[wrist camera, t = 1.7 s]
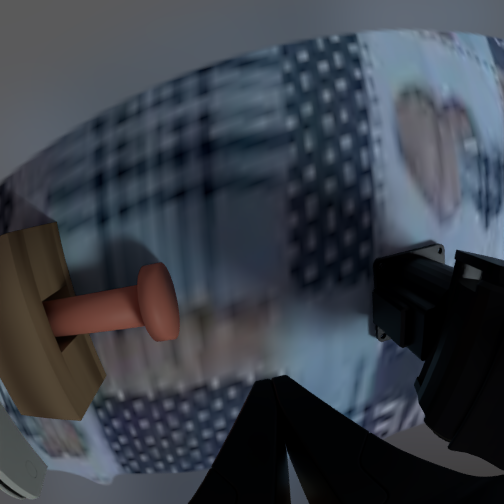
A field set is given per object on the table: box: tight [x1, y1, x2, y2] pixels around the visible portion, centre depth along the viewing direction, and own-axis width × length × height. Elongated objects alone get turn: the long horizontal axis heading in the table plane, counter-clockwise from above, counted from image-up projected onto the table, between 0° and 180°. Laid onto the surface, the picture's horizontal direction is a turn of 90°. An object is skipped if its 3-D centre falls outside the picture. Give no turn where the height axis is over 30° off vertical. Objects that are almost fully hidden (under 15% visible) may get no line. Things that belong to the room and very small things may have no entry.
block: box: [0, 222, 106, 421], centre depth 15 cm, size 6×12×6 cm, turn 10°
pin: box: [42, 262, 180, 342], centre depth 16 cm, size 10×4×4 cm, turn 100°
